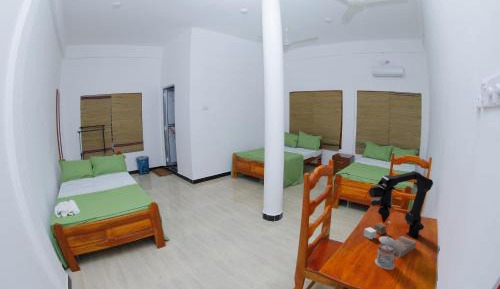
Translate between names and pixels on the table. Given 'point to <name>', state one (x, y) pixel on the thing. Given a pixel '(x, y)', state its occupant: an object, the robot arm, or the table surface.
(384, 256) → the french press
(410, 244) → the brick
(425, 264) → the table surface
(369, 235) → the white cube
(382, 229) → the walnut cube
